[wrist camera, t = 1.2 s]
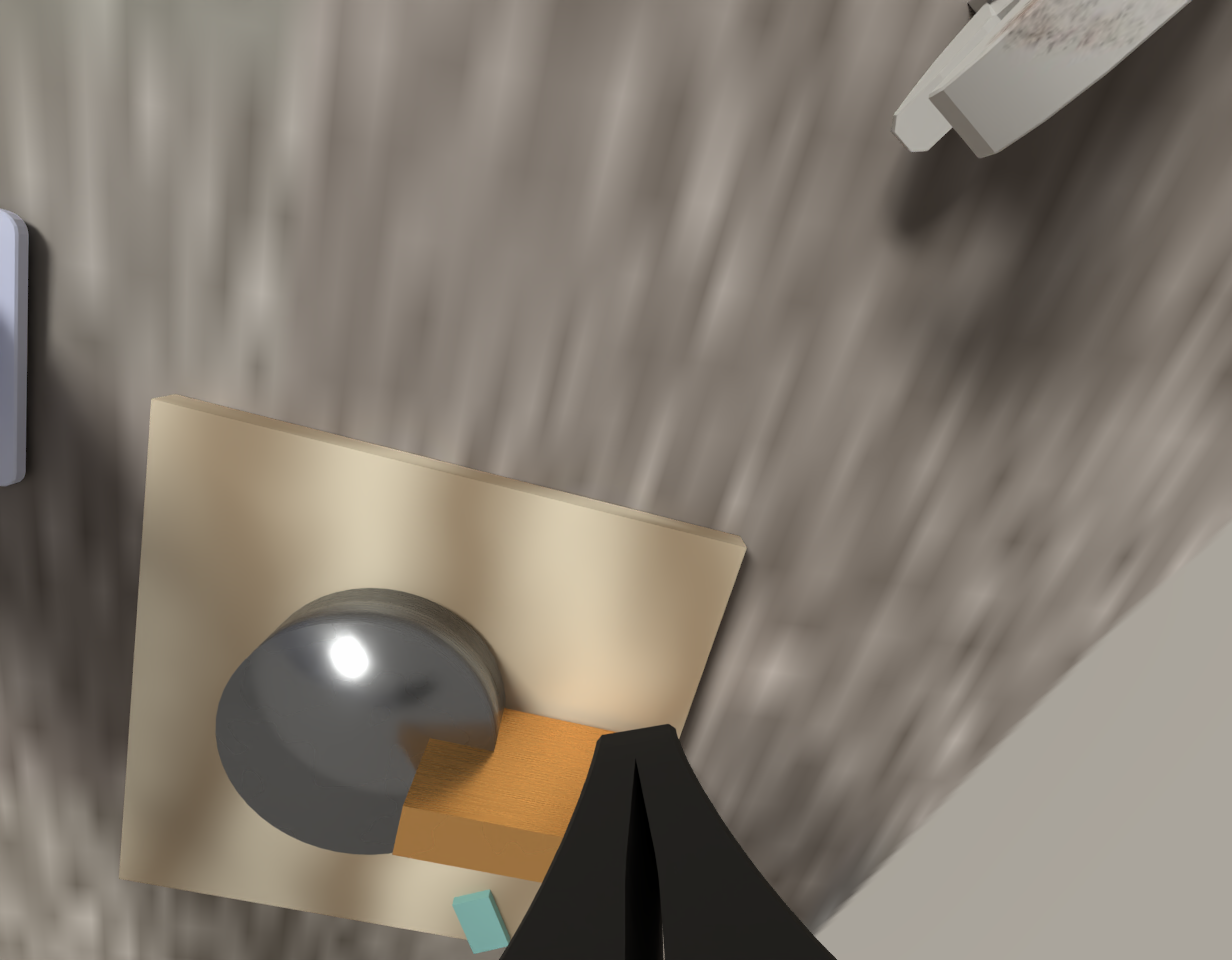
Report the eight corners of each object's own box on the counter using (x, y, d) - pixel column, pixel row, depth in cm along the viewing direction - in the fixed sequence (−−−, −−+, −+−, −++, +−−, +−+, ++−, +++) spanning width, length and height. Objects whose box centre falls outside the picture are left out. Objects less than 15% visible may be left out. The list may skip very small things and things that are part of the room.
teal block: (454, 897, 22) (452, 905, 22) (490, 889, 22) (488, 896, 22) (475, 945, 23) (473, 953, 23) (510, 937, 23) (509, 945, 23)
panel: (139, 854, 23) (119, 878, 22) (175, 394, 18) (151, 398, 17) (600, 937, 24) (599, 963, 24) (739, 536, 20) (746, 547, 19)
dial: (244, 773, 20) (143, 906, 16) (272, 561, 18) (165, 644, 14) (615, 846, 22) (619, 988, 17) (680, 654, 20) (704, 758, 15)
